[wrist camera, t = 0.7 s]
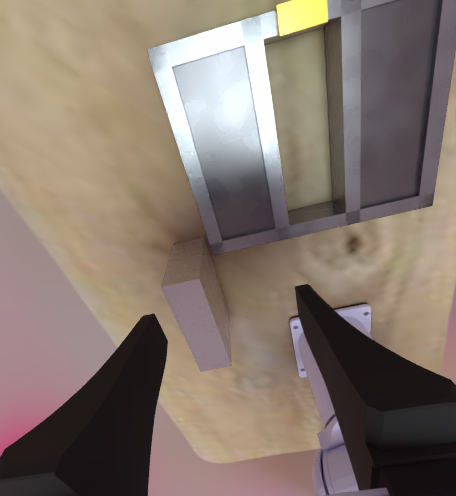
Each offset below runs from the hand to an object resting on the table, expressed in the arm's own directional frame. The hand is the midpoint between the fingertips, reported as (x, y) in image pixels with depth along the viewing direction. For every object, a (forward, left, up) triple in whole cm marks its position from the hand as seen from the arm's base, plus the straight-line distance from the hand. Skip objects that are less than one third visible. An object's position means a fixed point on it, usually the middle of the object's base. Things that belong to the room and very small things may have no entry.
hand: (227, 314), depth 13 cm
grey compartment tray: (+6, -7, -10) cm, 13 cm away
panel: (-5, +3, -10) cm, 11 cm away
